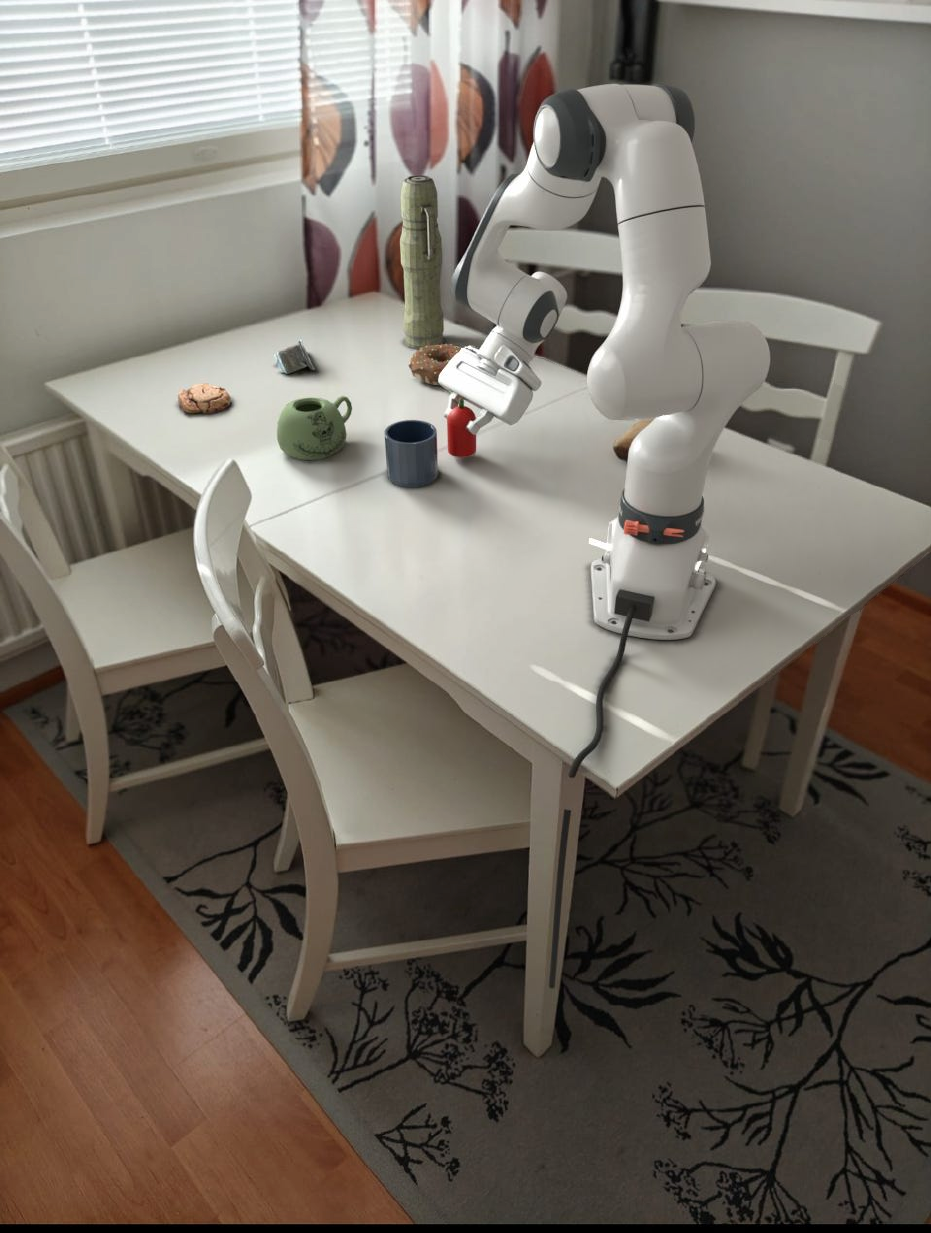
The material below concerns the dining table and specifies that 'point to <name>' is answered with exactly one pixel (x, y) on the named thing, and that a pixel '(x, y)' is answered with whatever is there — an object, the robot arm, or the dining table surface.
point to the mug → (312, 428)
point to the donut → (432, 361)
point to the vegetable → (629, 439)
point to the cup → (411, 453)
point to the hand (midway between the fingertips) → (458, 425)
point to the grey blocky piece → (293, 358)
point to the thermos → (421, 263)
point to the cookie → (204, 399)
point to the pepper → (460, 431)
